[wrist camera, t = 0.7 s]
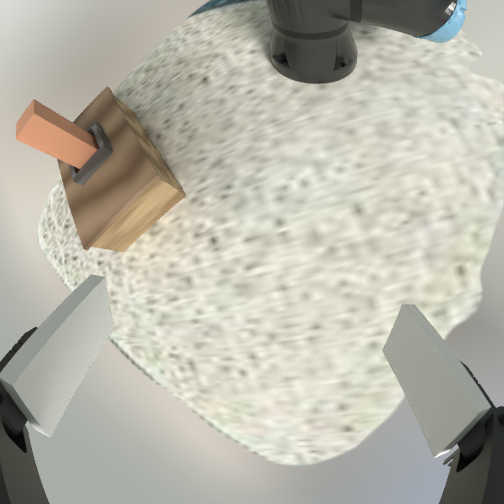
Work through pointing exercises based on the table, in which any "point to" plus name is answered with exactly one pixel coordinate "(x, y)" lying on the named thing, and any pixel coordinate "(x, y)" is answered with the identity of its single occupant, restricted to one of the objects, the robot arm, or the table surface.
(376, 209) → the table surface
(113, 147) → the wooden socket base
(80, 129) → the wooden peg
